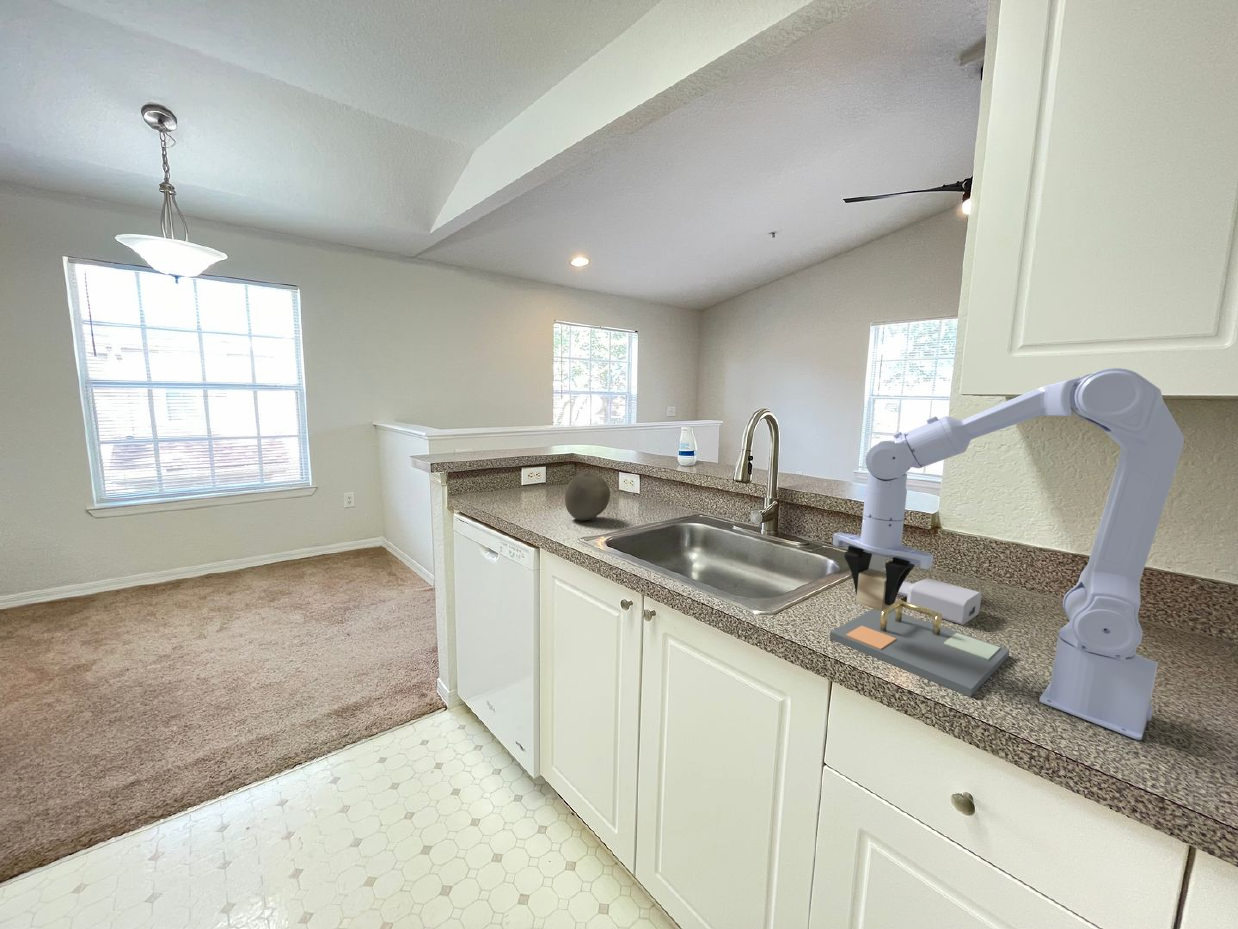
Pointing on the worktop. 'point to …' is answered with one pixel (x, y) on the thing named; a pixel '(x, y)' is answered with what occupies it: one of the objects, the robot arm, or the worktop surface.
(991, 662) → the board
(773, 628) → the worktop surface
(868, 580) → the block
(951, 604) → the charger
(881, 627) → the brass corner pipe rail
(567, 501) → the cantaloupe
